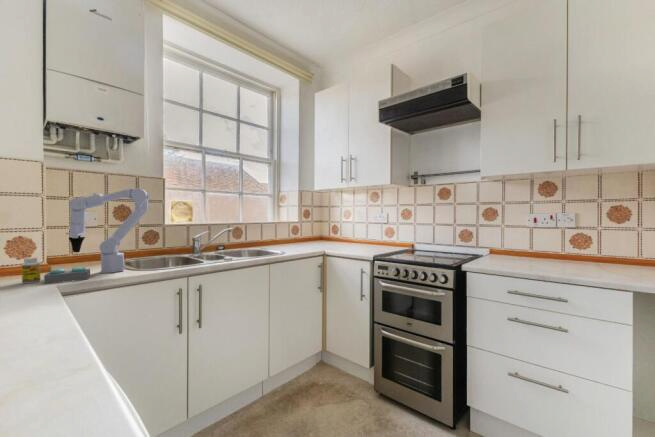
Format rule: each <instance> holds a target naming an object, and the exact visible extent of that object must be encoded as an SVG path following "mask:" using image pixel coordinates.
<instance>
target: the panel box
mask: <svg viewBox="0 0 655 437" xmlns="http://www.w3.org/2000/svg"><path fill="white" fill-rule="evenodd" d="M90 277H91V268H85V271H81V272H72V269H71V270H69V269H68V270H65V272H64V273H59V274H50V272H49V271H48V272H47V273H46V274H44V276H43V279H44V281H43V283H44V284H55V283H64V282H63V281H66V282H73V281H72V280H76V281H85V280H89V278H90Z"/></svg>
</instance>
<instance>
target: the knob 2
mask: <svg viewBox="0 0 655 437" xmlns="http://www.w3.org/2000/svg"><path fill="white" fill-rule="evenodd" d="M85 269H86V267H84V266H83V267H82V266H80V267H74V268H71V270H72V272H81V271H85Z"/></svg>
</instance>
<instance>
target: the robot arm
mask: <svg viewBox="0 0 655 437" xmlns="http://www.w3.org/2000/svg"><path fill="white" fill-rule="evenodd" d="M125 198H127V199H132V200H133V202H134V206H135V208H134V210H133V211H132V212H131V213H130V215H128V217H126V219H125V220H124V221H123V222H122V224H120V226H119V227H117V229H116V230H115V231H114V232H113V234H111V235H110V236H108V238H107V239H105V240H104V241H102V242H101V243H100V244H99V251H100V271H99V274H107V273H108V274H109V273H116V272H124V271H125V267H126V264H125V254H124V252H119V250H118V249H119V248H120V245H121V243H122V242H123V240H124V238H125V237H126V236H127V235H128V234H129V232H130V231H131V230H132V229H133V228H134V227H135V226H136V224H138V222H139V221H140V220H141V219H142V217H143V216H144V215H145V214H146V213H147V212H148V210H149V209H148V208H149V199H150V197H149V194H148V193H147V191H146V190H145V189H142V188H140V187H135V188H127V189H122V190H119V191H114V192H112V193H108V194H101V193H97V192H93V193H92V194H91V195H87V196H85V195H82V196H81V197H75V198H72V199H71V200H70V201H69V203H68V206H69V208H70V218H69V231H68V232H66V233H65V234H66V235H69V236H71V237H68V241H69V242H70V244H71V248H72V252H73V253H80V251H81V248H82V245H83V241H84V240H85V238H86V237H85V235H86V220H87V214H86V213H87V209H91V208H96V207H97V208H98V207H100V206H104V205H105V204H106V202H110V201H115V200H119V199H125Z"/></svg>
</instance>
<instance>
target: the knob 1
mask: <svg viewBox="0 0 655 437" xmlns="http://www.w3.org/2000/svg"><path fill="white" fill-rule="evenodd" d="M65 271H66V270H65V268H60V269H59V268H58V269H51V270H50V274H59V273H64V272H65Z"/></svg>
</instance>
